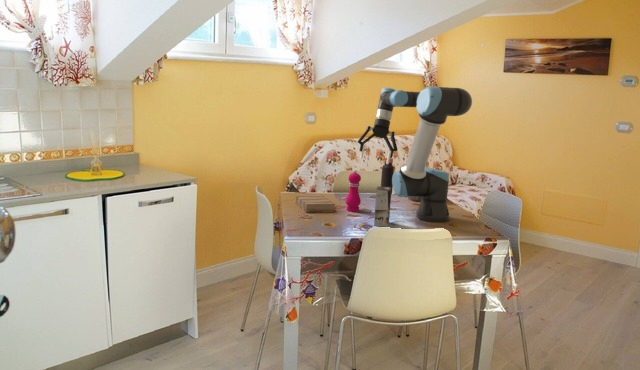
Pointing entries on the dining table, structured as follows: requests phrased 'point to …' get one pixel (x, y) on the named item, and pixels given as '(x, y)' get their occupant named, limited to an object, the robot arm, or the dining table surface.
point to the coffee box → (382, 206)
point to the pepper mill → (353, 192)
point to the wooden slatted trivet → (315, 203)
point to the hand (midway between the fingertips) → (374, 161)
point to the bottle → (387, 174)
